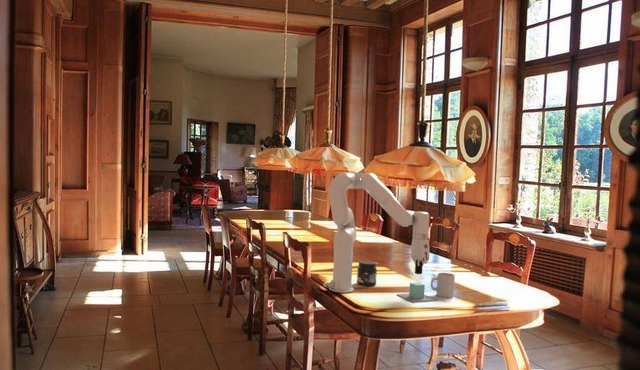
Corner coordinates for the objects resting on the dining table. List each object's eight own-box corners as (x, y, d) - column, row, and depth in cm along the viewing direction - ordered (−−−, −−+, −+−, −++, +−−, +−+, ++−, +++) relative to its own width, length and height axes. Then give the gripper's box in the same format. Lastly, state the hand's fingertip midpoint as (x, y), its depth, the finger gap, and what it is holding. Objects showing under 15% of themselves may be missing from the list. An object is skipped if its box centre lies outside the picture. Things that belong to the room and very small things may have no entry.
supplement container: (353, 282, 291) (354, 260, 291) (370, 282, 295) (372, 260, 294) (361, 287, 281) (362, 264, 281) (379, 286, 285) (380, 264, 285)
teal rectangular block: (415, 298, 261) (415, 285, 261) (409, 296, 266) (409, 282, 266) (423, 298, 263) (424, 284, 263) (417, 295, 268) (418, 282, 268)
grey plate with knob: (412, 302, 255) (413, 290, 255) (396, 295, 268) (397, 283, 268) (436, 300, 261) (437, 288, 261) (420, 293, 274) (420, 281, 274)
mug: (450, 293, 277) (451, 272, 276) (456, 298, 268) (457, 276, 268) (427, 293, 276) (428, 272, 275) (432, 297, 267) (434, 275, 267)
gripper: (435, 238, 258) (433, 276, 259) (417, 234, 271) (416, 270, 272) (422, 239, 255) (420, 277, 256) (405, 234, 268) (403, 271, 269)
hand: (418, 273), depth 264 cm, fingers closed
